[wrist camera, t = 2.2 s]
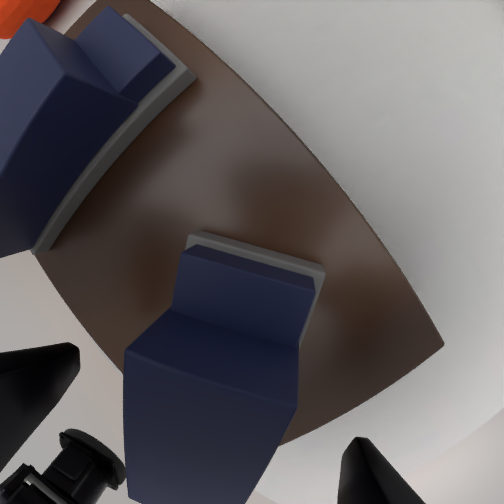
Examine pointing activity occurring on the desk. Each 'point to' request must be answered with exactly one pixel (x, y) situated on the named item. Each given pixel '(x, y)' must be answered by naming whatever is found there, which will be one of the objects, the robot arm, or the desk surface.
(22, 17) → the clementine
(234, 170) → the shoe display tray
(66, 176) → the trainer
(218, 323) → the trainer
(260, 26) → the desk surface
